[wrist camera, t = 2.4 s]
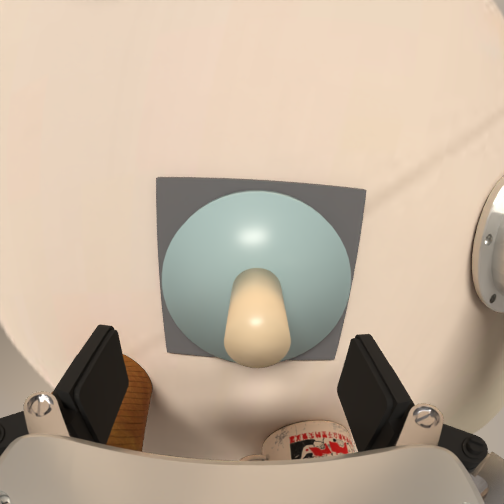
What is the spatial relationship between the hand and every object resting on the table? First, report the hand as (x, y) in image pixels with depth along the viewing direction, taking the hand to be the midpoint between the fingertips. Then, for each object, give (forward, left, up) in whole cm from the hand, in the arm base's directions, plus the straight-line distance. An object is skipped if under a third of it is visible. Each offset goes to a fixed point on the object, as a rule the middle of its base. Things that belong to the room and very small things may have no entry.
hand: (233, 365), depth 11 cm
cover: (-1, 0, -8) cm, 8 cm away
